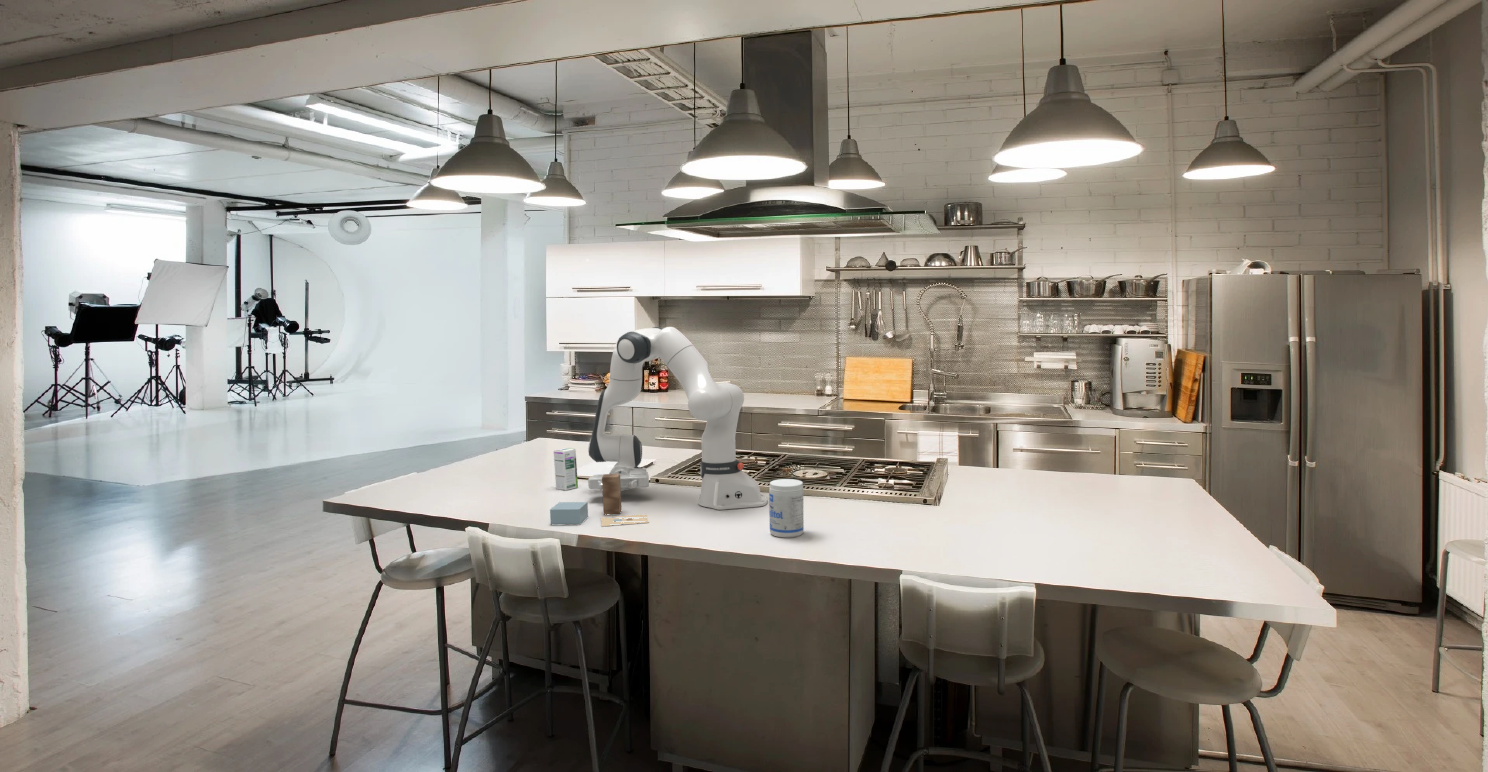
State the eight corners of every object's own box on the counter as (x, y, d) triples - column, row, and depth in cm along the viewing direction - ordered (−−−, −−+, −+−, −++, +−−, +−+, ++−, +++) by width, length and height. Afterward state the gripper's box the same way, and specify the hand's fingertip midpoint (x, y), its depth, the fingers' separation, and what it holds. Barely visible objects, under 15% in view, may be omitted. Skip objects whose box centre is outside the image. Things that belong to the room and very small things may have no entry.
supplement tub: (762, 534, 223) (761, 483, 222) (783, 527, 230) (782, 477, 229) (790, 540, 217) (789, 487, 216) (811, 532, 224) (809, 481, 223)
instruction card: (646, 514, 249) (646, 513, 249) (648, 522, 239) (648, 522, 239) (600, 518, 246) (600, 517, 246) (601, 526, 236) (601, 525, 236)
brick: (588, 517, 248) (587, 502, 248) (580, 525, 239) (579, 509, 239) (559, 517, 249) (559, 502, 249) (550, 525, 240) (549, 509, 240)
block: (621, 510, 255) (620, 473, 254) (619, 514, 250) (617, 477, 249) (606, 511, 255) (604, 474, 254) (603, 515, 250) (601, 477, 249)
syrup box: (566, 490, 286) (564, 450, 284) (555, 488, 289) (553, 449, 288) (578, 487, 290) (576, 448, 289) (567, 485, 294) (565, 447, 292)
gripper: (591, 469, 274) (583, 477, 261) (650, 467, 275) (646, 475, 261) (591, 487, 275) (584, 496, 261) (651, 485, 275) (647, 494, 262)
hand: (616, 486), depth 261 cm, fingers open, 8 cm apart
